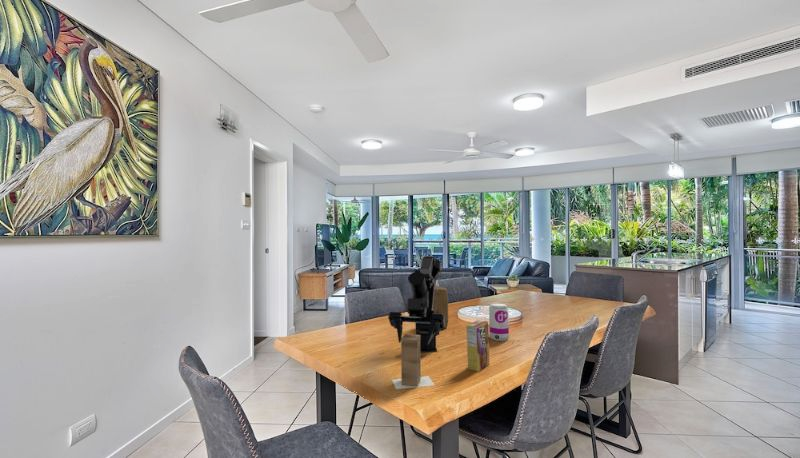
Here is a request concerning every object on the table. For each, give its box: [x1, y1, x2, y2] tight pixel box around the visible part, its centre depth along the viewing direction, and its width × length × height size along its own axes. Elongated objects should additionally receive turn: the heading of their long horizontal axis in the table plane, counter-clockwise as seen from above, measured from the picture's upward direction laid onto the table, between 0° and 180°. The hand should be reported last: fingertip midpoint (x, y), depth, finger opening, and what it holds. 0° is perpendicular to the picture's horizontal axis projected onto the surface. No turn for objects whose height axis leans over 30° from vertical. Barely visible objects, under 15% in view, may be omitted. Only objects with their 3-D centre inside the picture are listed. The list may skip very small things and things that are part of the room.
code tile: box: [391, 375, 435, 390], centre depth 107 cm, size 12×7×1 cm, turn 102°
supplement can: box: [488, 302, 510, 342], centre depth 154 cm, size 8×8×15 cm
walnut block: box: [400, 333, 422, 388], centre depth 107 cm, size 5×5×14 cm
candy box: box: [466, 319, 491, 373], centre depth 120 cm, size 9×4×15 cm, turn 140°
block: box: [433, 286, 449, 330], centre depth 174 cm, size 11×8×20 cm
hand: (413, 343), depth 111 cm, fingers open, 9 cm apart
